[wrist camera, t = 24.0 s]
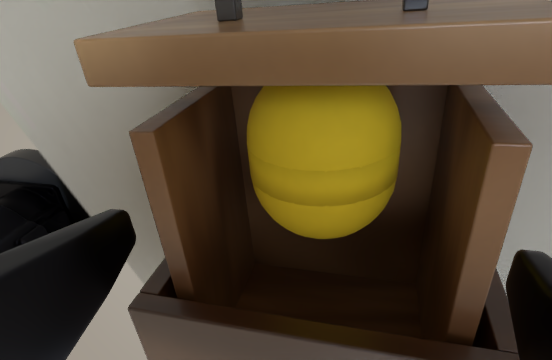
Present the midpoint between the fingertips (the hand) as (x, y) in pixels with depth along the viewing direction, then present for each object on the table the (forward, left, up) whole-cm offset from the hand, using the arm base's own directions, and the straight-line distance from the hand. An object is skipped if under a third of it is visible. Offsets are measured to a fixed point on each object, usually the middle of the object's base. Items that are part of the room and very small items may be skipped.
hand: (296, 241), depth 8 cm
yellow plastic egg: (0, 0, -8) cm, 8 cm away
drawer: (0, 0, -9) cm, 9 cm away
